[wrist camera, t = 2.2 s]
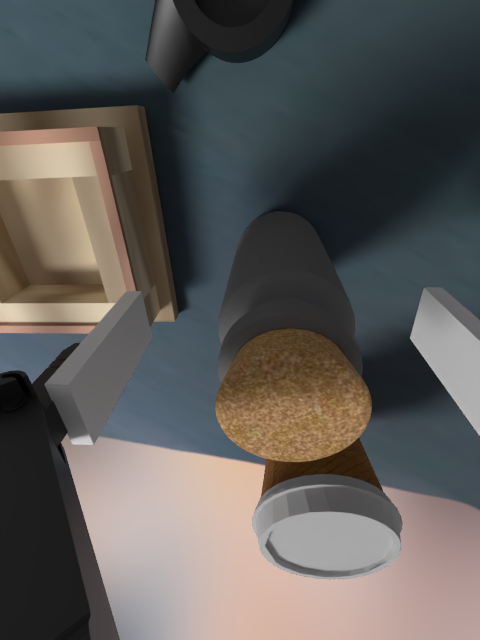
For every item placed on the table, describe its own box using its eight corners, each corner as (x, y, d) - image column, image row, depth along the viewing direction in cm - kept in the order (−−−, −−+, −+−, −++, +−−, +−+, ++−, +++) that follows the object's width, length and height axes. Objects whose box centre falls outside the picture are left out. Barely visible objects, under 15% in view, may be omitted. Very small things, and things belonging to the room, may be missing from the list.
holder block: (144, 106, 18) (111, 100, 15) (178, 313, 26) (162, 345, 22) (-72, 119, 20) (-155, 117, 16) (18, 313, 27) (-23, 343, 23)
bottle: (226, 224, 22) (165, 360, 9) (312, 198, 20) (385, 313, 7) (250, 297, 24) (230, 482, 12) (327, 279, 23) (400, 464, 10)
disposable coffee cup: (267, 357, 27) (266, 494, 17) (375, 375, 27) (439, 522, 17) (249, 430, 32) (241, 570, 22) (341, 445, 32) (375, 591, 22)
